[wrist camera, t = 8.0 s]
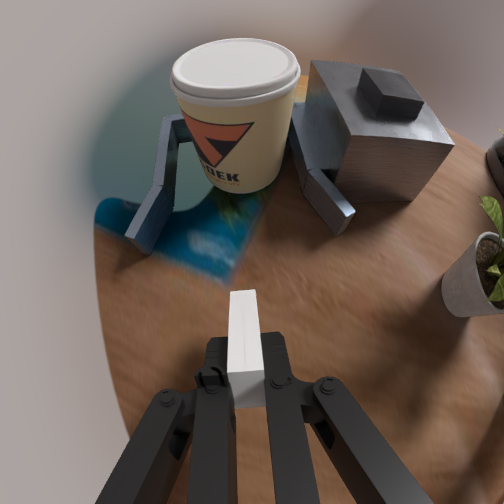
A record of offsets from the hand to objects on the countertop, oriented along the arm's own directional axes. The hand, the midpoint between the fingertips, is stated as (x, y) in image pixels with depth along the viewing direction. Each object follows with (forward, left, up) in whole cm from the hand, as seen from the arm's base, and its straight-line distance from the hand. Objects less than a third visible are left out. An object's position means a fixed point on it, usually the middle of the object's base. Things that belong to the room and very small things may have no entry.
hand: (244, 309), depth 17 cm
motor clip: (-10, -11, -4) cm, 15 cm away
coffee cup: (-7, -13, -4) cm, 16 cm away
